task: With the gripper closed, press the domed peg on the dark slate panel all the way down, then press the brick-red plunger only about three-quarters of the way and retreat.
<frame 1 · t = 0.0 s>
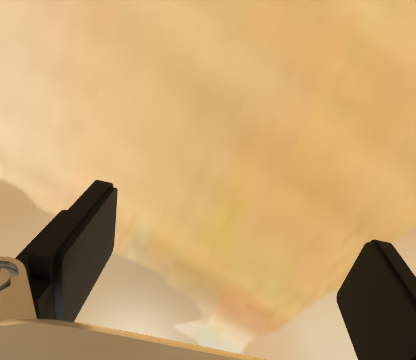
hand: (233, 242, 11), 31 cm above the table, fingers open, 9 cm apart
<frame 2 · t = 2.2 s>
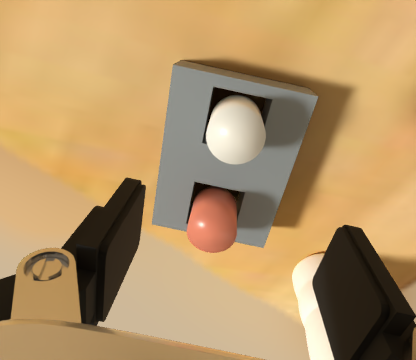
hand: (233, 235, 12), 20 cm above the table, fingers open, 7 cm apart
domed peg: (235, 128, 24), point 6 cm above the table, slide at 0.0 cm
red plug: (213, 218, 28), point 6 cm above the table, slide at 0.0 cm
panel: (225, 152, 31), on the table
water bottle: (319, 271, 38), on the table
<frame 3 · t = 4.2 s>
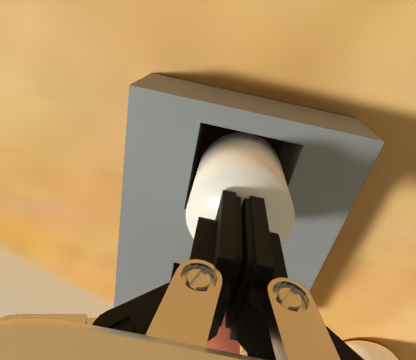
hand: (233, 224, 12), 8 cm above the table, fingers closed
domed peg: (239, 192, 14), point 5 cm above the table, slide at 0.4 cm, touching gripper
red plug: (203, 322, 18), point 6 cm above the table, slide at 0.0 cm
panel: (223, 209, 21), on the table
water bottle: (353, 359, 27), on the table
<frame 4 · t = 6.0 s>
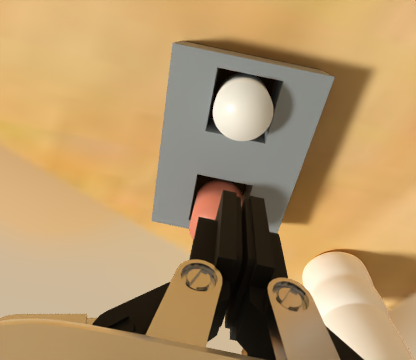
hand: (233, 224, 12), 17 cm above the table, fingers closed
domed peg: (242, 105, 24), point 3 cm above the table, slide at 2.4 cm
red plug: (218, 214, 26), point 6 cm above the table, slide at 0.0 cm
panel: (231, 143, 29), on the table
water bottle: (331, 270, 35), on the table
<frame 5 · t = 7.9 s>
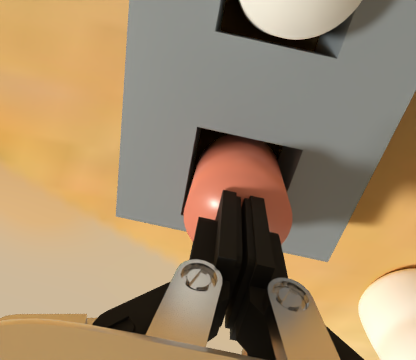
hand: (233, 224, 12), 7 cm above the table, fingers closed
red plug: (237, 193, 14), point 5 cm above the table, slide at 0.9 cm, touching gripper
panel: (257, 80, 16), on the table
water bottle: (403, 296, 23), on the table
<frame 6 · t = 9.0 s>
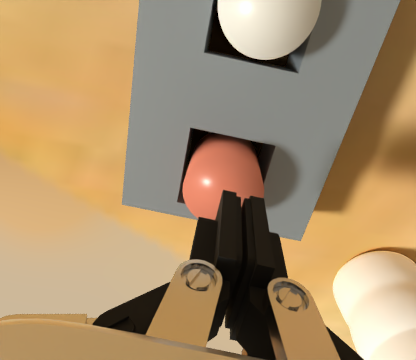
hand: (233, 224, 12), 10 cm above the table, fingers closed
domed peg: (263, 9, 15), point 3 cm above the table, slide at 2.4 cm
red plug: (223, 175, 18), point 4 cm above the table, slide at 1.8 cm
panel: (239, 90, 20), on the table
water bottle: (371, 277, 26), on the table
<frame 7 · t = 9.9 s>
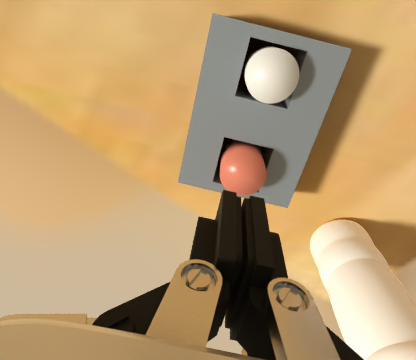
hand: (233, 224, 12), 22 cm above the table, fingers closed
domed peg: (269, 73, 27), point 3 cm above the table, slide at 2.4 cm
red plug: (242, 165, 30), point 4 cm above the table, slide at 1.8 cm
panel: (252, 113, 32), on the table
water bottle: (336, 239, 38), on the table
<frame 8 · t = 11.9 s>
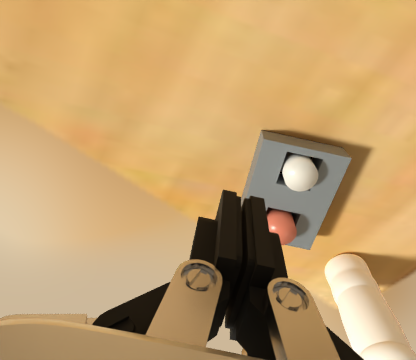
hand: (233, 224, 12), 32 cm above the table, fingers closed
domed peg: (298, 169, 42), point 3 cm above the table, slide at 2.4 cm
red plug: (279, 224, 45), point 4 cm above the table, slide at 1.8 cm
panel: (284, 186, 47), on the table
water bottle: (343, 266, 53), on the table
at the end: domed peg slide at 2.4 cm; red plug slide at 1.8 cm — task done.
